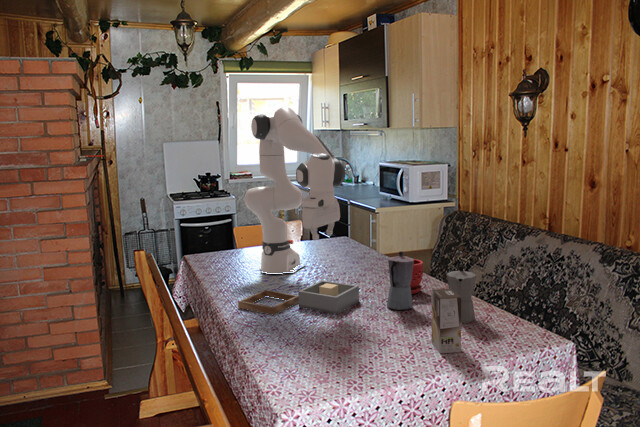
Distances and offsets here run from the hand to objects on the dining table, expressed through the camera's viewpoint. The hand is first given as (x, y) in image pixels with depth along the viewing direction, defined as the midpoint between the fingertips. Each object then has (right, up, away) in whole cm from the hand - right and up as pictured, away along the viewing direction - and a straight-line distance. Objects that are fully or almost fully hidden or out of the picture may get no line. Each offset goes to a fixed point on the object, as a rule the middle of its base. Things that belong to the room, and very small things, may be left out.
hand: (322, 237), depth 195 cm
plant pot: (+33, -22, +15) cm, 42 cm away
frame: (-20, -25, +3) cm, 32 cm away
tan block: (+2, -24, +1) cm, 24 cm away
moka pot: (+27, -25, -4) cm, 37 cm away
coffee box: (+35, -30, -39) cm, 61 cm away
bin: (+2, -25, +2) cm, 25 cm away
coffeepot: (+46, -26, -16) cm, 55 cm away
